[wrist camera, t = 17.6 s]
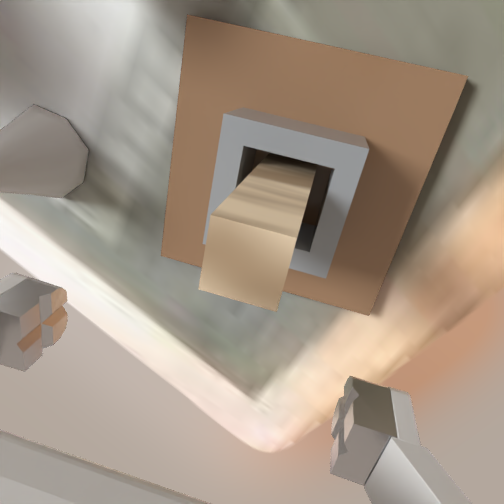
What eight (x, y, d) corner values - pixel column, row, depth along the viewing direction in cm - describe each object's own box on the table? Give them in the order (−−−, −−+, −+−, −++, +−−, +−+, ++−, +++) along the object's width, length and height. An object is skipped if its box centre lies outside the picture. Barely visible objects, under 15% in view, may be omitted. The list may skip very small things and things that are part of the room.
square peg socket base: (192, 16, 26) (154, 0, 21) (463, 76, 24) (497, 76, 19) (165, 250, 34) (132, 283, 29) (368, 309, 32) (373, 355, 27)
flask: (104, 148, 31) (10, 177, 23) (67, 211, 35) (-28, 257, 26) (30, 86, 31) (-97, 91, 22) (0, 156, 34) (-123, 185, 25)
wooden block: (269, 152, 28) (210, 214, 15) (317, 164, 27) (297, 238, 15) (259, 198, 29) (198, 289, 17) (304, 210, 29) (276, 311, 16)
